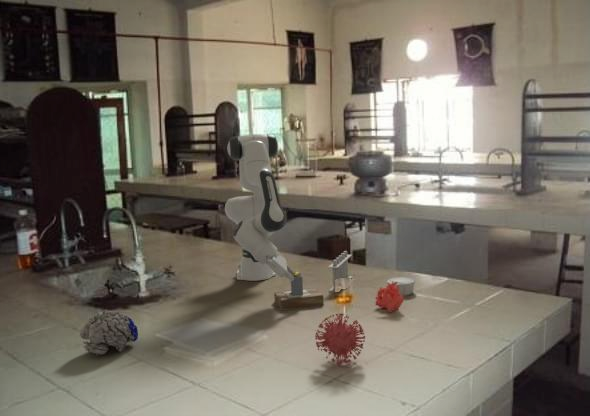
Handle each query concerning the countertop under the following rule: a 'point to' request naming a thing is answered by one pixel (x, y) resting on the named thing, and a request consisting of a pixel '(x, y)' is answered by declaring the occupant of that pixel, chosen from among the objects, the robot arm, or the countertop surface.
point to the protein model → (389, 297)
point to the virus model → (340, 338)
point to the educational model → (108, 332)
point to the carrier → (297, 286)
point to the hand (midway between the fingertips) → (292, 276)
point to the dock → (298, 299)
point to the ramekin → (403, 285)
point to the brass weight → (296, 274)
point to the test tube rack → (340, 268)
